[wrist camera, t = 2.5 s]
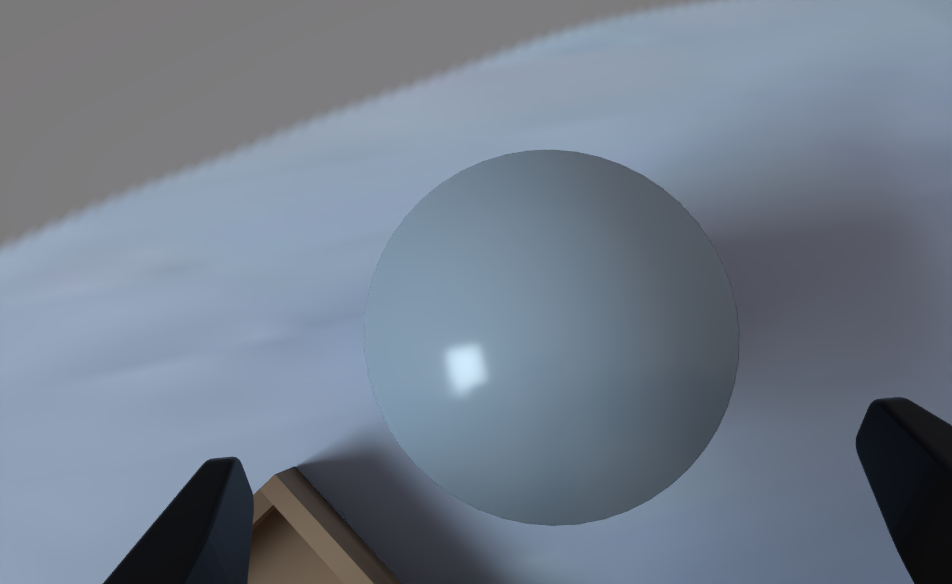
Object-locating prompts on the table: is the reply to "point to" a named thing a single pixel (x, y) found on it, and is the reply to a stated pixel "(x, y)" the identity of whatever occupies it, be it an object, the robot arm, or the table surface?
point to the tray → (306, 539)
